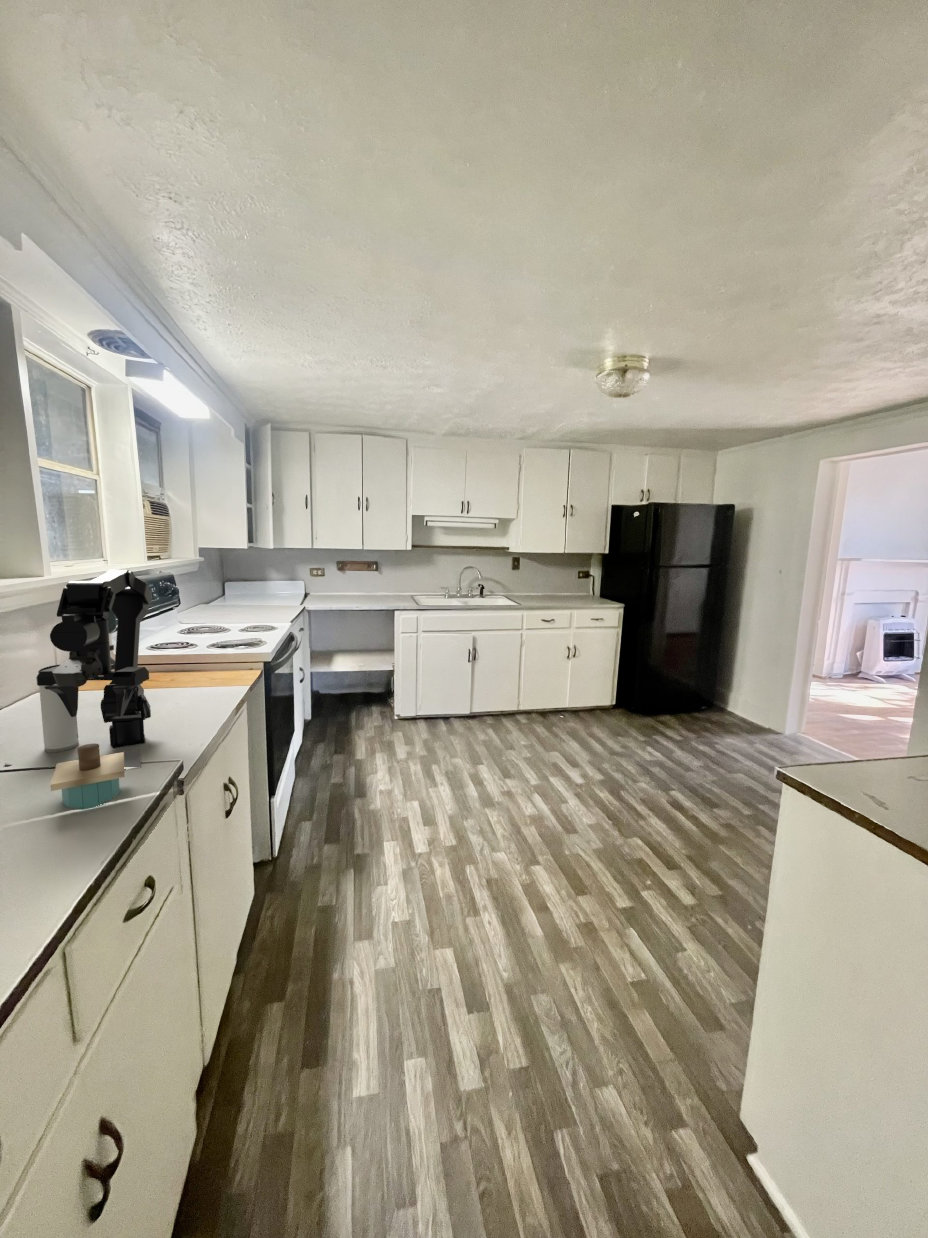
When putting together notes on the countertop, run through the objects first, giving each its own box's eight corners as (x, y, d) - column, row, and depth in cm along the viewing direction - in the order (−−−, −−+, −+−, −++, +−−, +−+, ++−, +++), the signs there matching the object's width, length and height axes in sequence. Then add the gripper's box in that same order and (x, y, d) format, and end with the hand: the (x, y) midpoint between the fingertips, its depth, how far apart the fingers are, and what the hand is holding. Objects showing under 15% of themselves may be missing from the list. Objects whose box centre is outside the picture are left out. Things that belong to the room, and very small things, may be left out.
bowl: (119, 784, 99) (118, 760, 98) (119, 801, 92) (117, 776, 91) (65, 794, 94) (63, 770, 93) (61, 814, 87) (59, 787, 86)
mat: (139, 751, 115) (139, 749, 115) (141, 769, 105) (141, 767, 105) (75, 762, 108) (74, 759, 108) (70, 782, 99) (70, 780, 98)
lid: (124, 757, 99) (122, 733, 99) (124, 777, 91) (122, 750, 90) (57, 769, 93) (55, 743, 93) (50, 791, 85) (48, 762, 84)
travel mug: (86, 744, 119) (81, 663, 116) (62, 754, 112) (55, 669, 110) (63, 742, 119) (57, 662, 117) (37, 753, 113) (30, 668, 110)
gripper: (10, 649, 91) (17, 730, 93) (115, 650, 92) (120, 729, 94) (54, 639, 102) (60, 711, 104) (148, 640, 103) (152, 711, 105)
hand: (97, 716), depth 101 cm, fingers open, 9 cm apart
